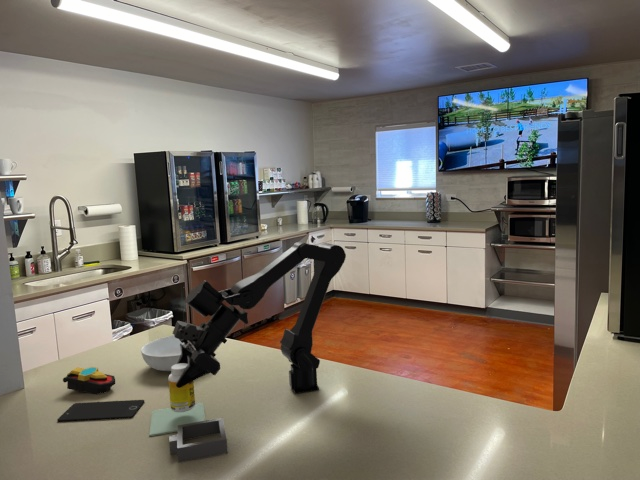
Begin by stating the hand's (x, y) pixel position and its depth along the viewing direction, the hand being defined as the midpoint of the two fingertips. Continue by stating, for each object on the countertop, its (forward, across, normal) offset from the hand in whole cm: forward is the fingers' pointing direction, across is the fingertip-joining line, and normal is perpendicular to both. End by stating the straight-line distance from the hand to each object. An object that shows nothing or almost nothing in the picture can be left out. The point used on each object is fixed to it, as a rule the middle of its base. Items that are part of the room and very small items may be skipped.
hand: (175, 382), depth 112 cm
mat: (+6, 0, +6) cm, 9 cm away
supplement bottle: (+4, 0, +6) cm, 7 cm away
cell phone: (+18, -14, -4) cm, 23 cm away
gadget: (+19, -30, -6) cm, 36 cm away
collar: (+5, +15, +8) cm, 17 cm away
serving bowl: (+2, -35, +11) cm, 37 cm away
